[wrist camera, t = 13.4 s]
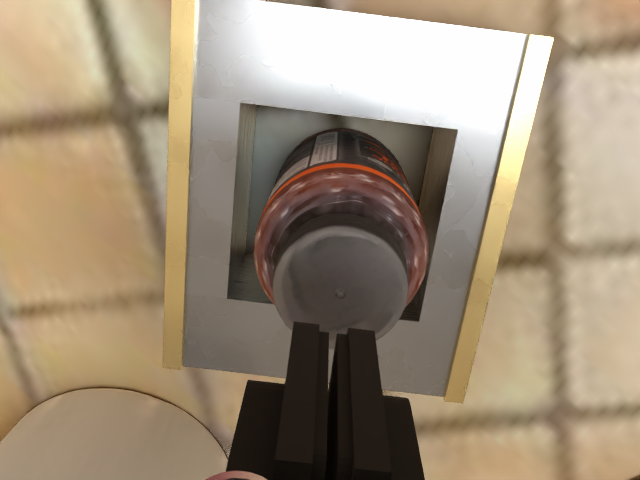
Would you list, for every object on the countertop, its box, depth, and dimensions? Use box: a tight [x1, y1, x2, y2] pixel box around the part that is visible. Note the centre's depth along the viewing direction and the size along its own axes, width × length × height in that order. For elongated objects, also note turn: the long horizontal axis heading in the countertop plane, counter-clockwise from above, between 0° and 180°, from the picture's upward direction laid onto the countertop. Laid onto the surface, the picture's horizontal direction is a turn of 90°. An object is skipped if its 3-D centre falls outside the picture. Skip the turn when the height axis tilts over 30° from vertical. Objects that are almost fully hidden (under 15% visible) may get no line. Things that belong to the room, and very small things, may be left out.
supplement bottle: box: [254, 129, 428, 349], centre depth 22 cm, size 6×6×11 cm
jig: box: [163, 0, 554, 403], centre depth 25 cm, size 15×13×5 cm
